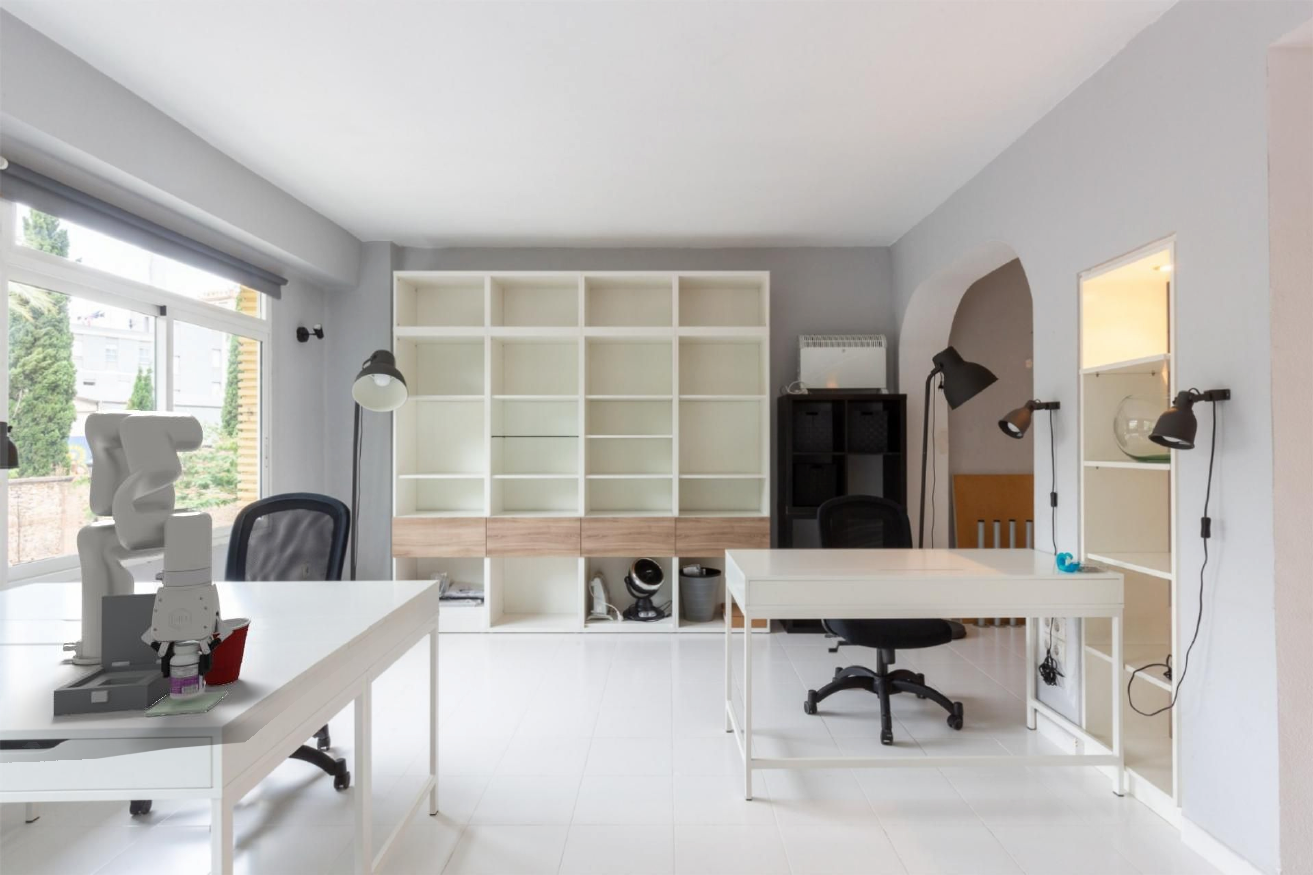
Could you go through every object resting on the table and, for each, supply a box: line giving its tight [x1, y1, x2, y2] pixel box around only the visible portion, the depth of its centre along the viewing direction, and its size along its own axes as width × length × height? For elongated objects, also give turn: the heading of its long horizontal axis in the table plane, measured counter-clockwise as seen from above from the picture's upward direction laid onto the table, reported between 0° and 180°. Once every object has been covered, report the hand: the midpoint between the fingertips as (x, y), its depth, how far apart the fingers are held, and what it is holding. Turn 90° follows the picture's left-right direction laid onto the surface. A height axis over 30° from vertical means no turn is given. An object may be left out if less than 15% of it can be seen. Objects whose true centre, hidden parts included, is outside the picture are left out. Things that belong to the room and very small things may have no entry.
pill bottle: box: [169, 641, 205, 700], centre depth 127 cm, size 5×5×10 cm
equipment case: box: [53, 592, 187, 717], centre depth 130 cm, size 15×16×18 cm
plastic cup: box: [196, 617, 252, 687], centre depth 139 cm, size 11×11×12 cm
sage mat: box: [143, 691, 228, 718], centre depth 126 cm, size 10×9×1 cm
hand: (187, 673), depth 127 cm, fingers closed on pill bottle, 5 cm apart
